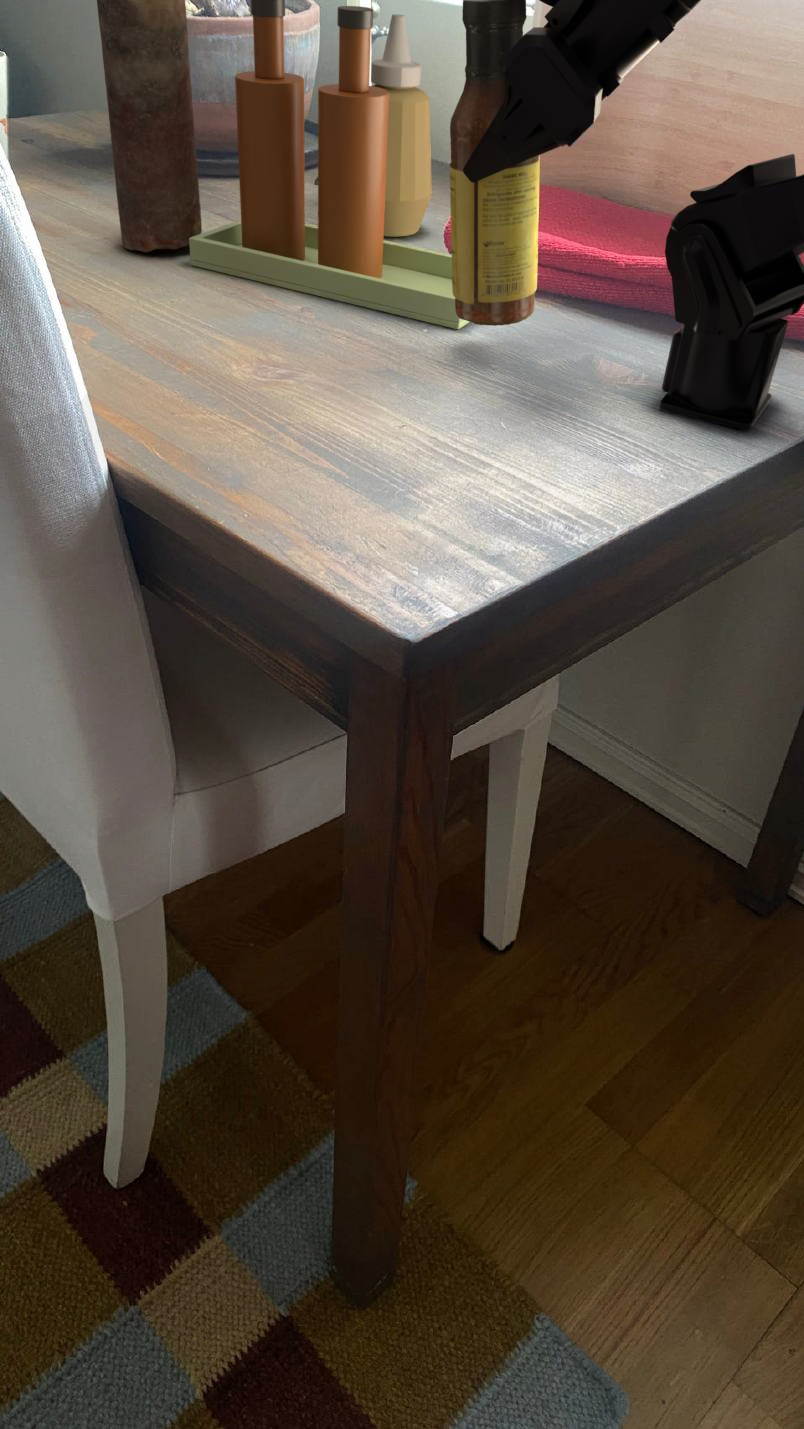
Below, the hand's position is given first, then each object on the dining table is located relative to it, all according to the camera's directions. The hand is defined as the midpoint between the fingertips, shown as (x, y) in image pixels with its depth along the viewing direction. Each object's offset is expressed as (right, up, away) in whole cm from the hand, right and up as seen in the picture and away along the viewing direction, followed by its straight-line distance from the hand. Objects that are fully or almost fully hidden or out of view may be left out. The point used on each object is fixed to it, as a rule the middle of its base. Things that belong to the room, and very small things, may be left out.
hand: (477, 166), depth 72 cm
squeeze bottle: (-7, +10, +32) cm, 34 cm away
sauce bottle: (+1, -8, +6) cm, 10 cm away
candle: (-27, +5, +24) cm, 37 cm away
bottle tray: (-10, 0, +19) cm, 22 cm away
